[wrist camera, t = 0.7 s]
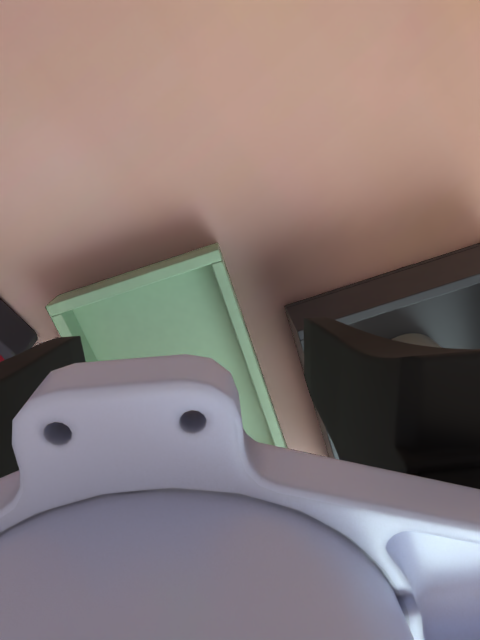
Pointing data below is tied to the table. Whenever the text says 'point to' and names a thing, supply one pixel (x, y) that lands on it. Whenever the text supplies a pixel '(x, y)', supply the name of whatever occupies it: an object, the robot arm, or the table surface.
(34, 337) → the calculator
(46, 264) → the table surface
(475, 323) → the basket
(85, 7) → the table surface
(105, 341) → the tray
